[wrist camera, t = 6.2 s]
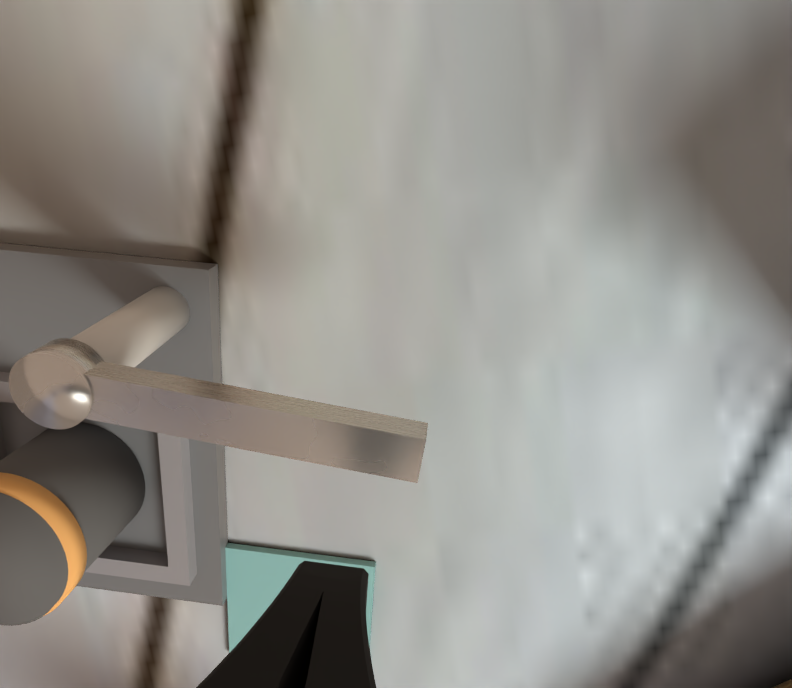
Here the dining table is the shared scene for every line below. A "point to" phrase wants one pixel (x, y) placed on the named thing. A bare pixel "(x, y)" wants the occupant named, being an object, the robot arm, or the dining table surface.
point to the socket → (156, 453)
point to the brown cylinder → (785, 684)
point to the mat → (271, 582)
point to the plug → (61, 514)
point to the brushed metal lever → (210, 412)
